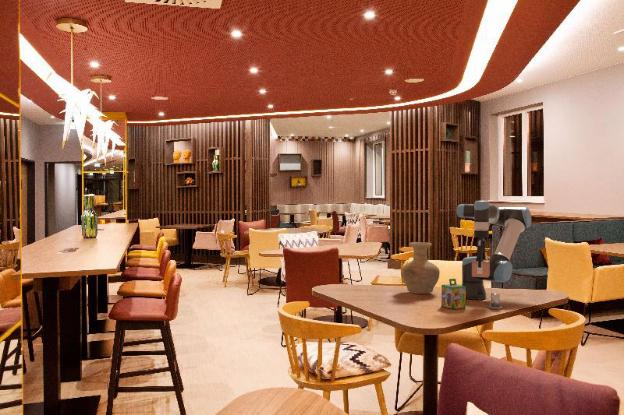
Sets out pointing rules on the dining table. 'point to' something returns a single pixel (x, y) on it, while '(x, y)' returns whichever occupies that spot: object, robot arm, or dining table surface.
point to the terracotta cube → (485, 269)
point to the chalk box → (453, 295)
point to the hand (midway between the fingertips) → (481, 272)
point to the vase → (420, 271)
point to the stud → (495, 301)
